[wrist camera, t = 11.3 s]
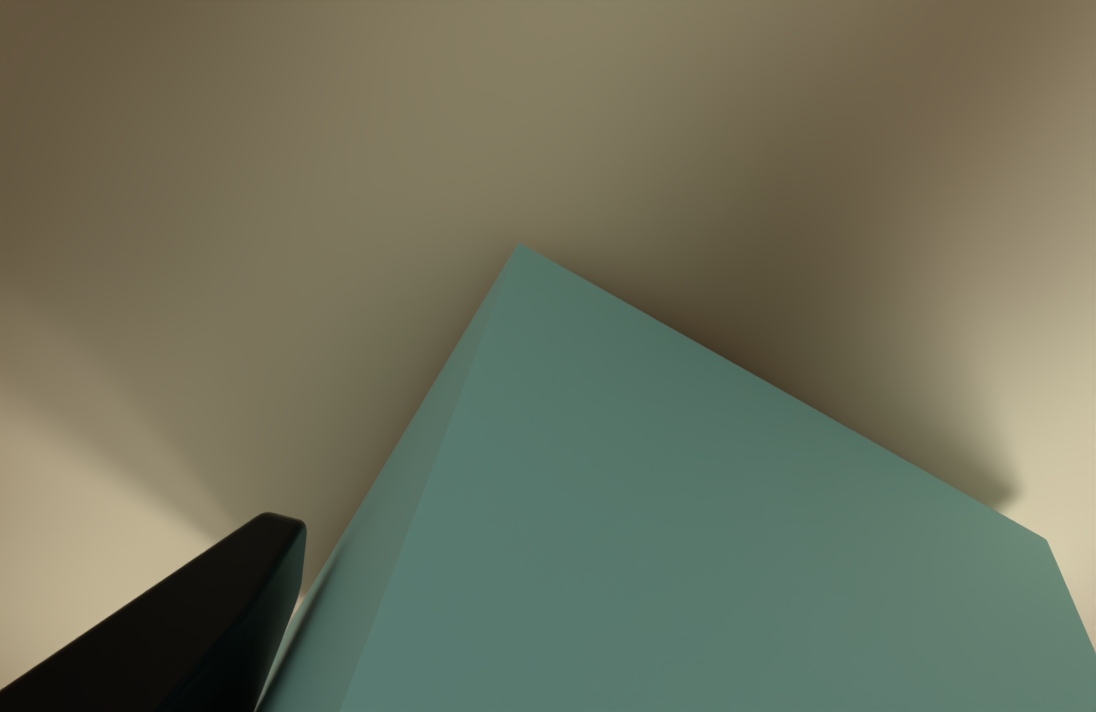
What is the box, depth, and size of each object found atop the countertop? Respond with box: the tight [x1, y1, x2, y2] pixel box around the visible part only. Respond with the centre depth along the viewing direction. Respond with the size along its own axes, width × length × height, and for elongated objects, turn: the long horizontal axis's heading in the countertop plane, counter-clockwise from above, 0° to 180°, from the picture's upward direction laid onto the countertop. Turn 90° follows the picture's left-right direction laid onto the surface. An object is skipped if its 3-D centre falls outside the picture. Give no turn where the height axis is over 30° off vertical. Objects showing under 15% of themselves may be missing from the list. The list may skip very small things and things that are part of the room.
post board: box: [0, 0, 1096, 690], centre depth 9 cm, size 18×16×4 cm
